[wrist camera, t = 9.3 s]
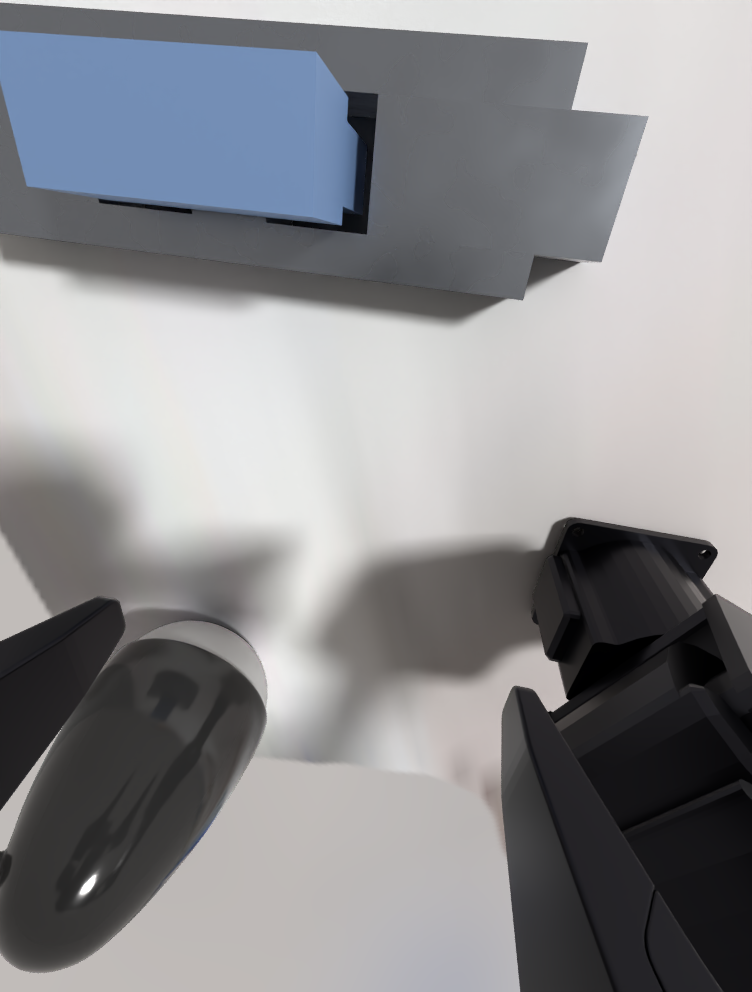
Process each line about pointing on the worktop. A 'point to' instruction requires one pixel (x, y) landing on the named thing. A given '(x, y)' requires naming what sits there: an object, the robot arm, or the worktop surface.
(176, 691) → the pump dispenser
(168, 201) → the blue notched pillar
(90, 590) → the worktop surface
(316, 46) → the rail
